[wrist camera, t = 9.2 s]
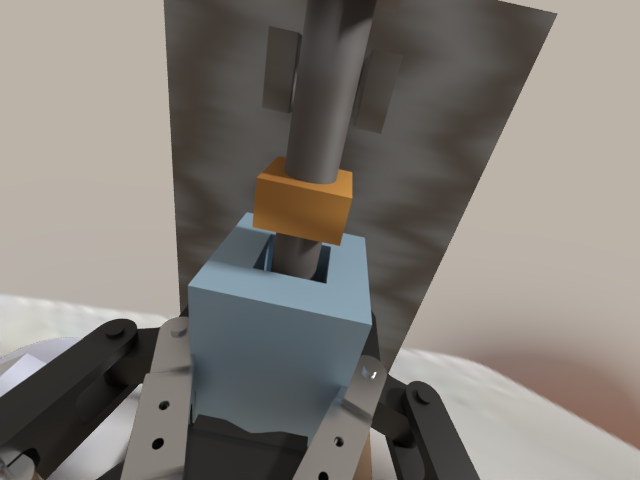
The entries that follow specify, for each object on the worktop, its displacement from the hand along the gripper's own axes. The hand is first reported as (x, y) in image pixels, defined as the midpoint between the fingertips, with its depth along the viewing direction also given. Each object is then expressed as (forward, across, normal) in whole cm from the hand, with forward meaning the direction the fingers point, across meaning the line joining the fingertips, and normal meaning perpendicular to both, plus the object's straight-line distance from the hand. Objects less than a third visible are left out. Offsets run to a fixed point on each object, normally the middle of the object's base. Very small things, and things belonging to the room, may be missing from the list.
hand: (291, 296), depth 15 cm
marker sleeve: (-3, 0, +4) cm, 5 cm away
